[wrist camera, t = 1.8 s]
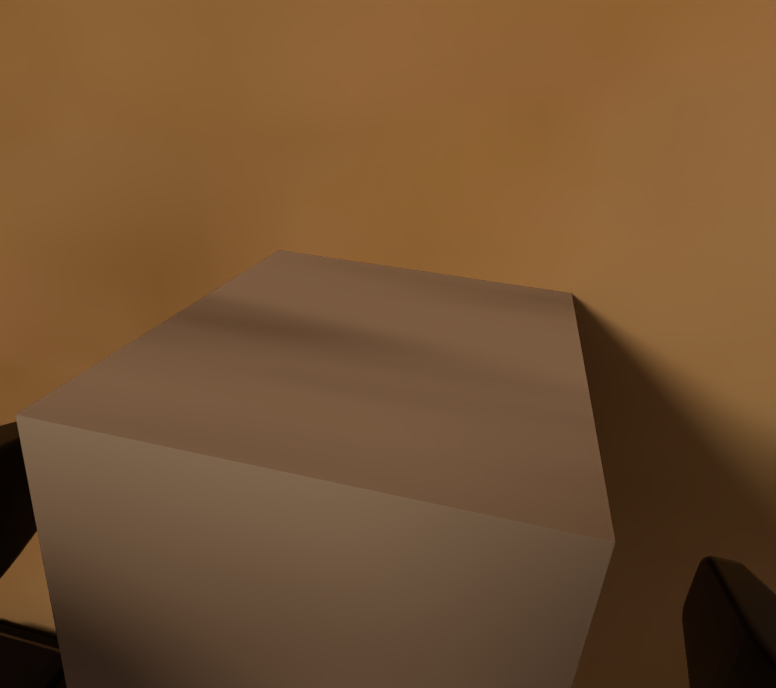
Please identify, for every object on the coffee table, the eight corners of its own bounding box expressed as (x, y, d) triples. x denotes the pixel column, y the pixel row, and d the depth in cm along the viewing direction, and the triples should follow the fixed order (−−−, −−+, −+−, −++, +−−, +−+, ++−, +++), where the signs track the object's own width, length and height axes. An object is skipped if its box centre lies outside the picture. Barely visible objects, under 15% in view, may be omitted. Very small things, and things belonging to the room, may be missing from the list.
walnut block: (518, 535, 12) (504, 911, 6) (276, 483, 13) (83, 776, 7) (571, 292, 10) (614, 541, 4) (280, 249, 11) (14, 413, 5)
